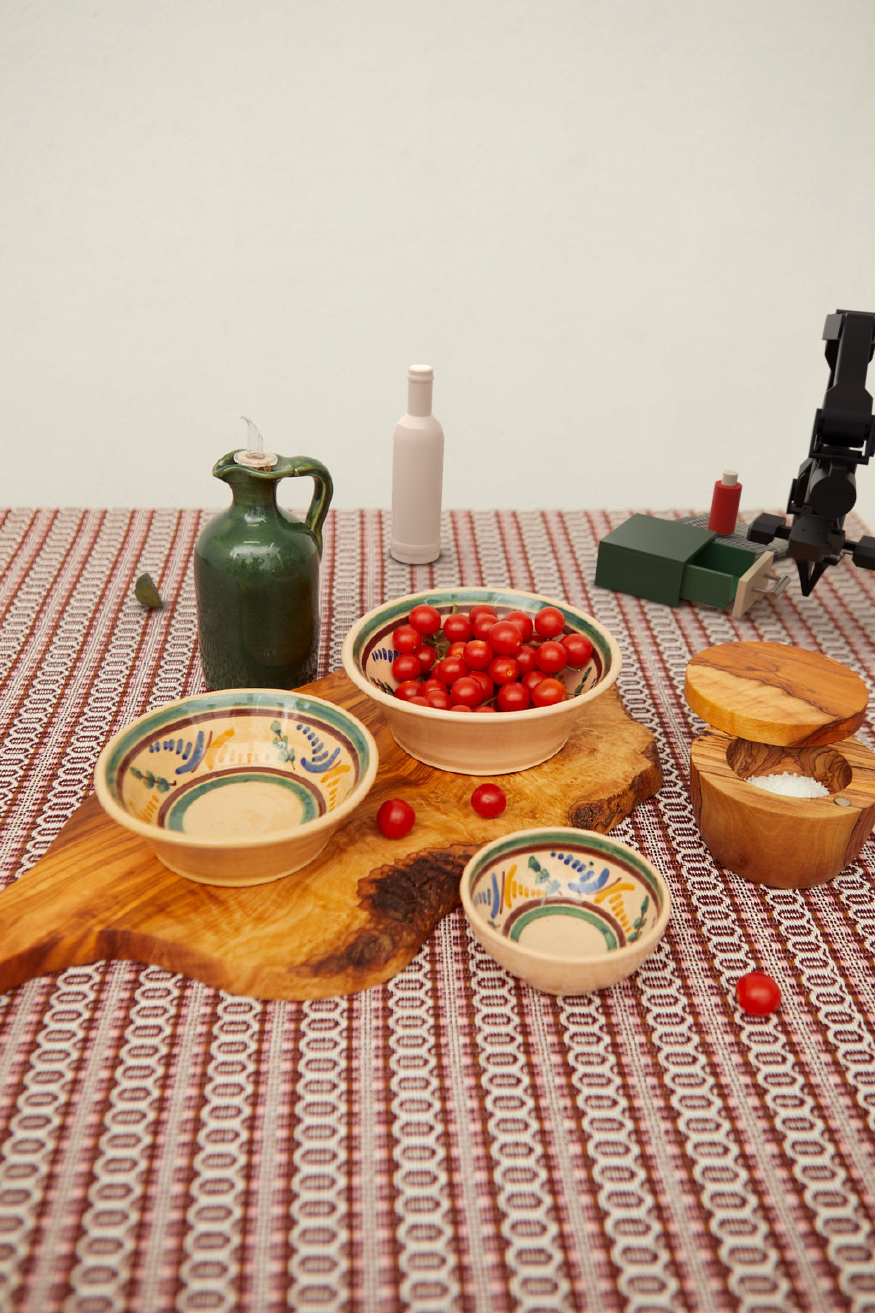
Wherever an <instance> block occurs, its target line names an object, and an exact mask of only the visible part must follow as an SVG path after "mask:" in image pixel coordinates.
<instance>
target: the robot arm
mask: <svg viewBox="0 0 875 1313" xmlns="http://www.w3.org/2000/svg"><path fill="white" fill-rule="evenodd" d="M821 335H822V336H821V341H825V343H824V353H823V354H824V358H825V360H826V363H827V365H828V368H829V375H828V379H827V384H826V389H825V393H824V396H823V400H822V404H821V408H820V407H816V410H815V414H814V417H813V423H812V429H811V435H810V439H809V440H810V441H809V446H808V447H809V448H808V453H807V458H806V459H805V460H804V461H803V462H802V463H801V464H800V465H799V468H798V472H797V477H796V478H794V477H793V478H792V481H791V485H790V489H789V491H788V492H789V493H788V498H787V503H786V509H785V510H786V512H785V514H786V515H793V516H792V520H791V525H790V526H789V525H787V517H786V516H781V515H776V514H771V513H768V512H762V513H760V514H759V515H757V517H755V518H754V519H753V520H752V521H751V522H750V523H749V528H748V532H747V538H746V539H747V540H748V541H750V542H754V543H759V544H763V545H768V544H770V543H771V542H773V541H774V538H775V537H776V538H780V539H781V540H785V541H788V542H789V543H788V548H787V550H786V551H785V553H786V555H785V556H789V557H791V558H792V559H793V561H794V563H795V565H796V568H797V572H798V578H799V584H800V590H801V596H802V597H805V598H809V597H810V595H811V593H812V592H813V590H814V589H815V587H816V585H817V584H818V583H819V581H820V579H821V578H822V576H823V575H824V572H825V571H827V569H828V567H830V566H831V567H837V566H838V565H839V564H840V563H841V561H842V560H843V559H844V558H845V556H846V555H849V556H852V557H851V562H852V563H853V565H854V566H855V567H856V568H860V569H864V570H868V571H872V572H875V537H874V536H869V535H865V534H864V535H862V537H861V538H860V539H859V541H856V540H855V541H854V540H851V539H846V537H847V536H846V530H845V529H844V526H845V521H846V517H847V514H849V513H850V512H851V511H852V510H853V508H854V507H855V506H856V503H857V499H858V494H857V480H856V472H857V469H858V465H861V466H869V464H870V458H874V457H875V414H873V406H874V397H873V396H872V394H871V393H870V392H869V391H868V389H867V388H866V384H867V378H868V369H869V364H870V363H871V362H872V361H873V359H874V356H875V312H874V311H863V310H852V309H842V308H836V309H835V312H834V313H828V314H826V316H825V320H824V325H823V331H822V334H821ZM864 446H865V447H864ZM851 448H852V449H851ZM863 448H864V451H863V450H860V449H863ZM858 449H859V450H858ZM863 452H864V454H863Z"/></svg>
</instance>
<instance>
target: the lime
mask: <svg viewBox="0 0 875 1313" xmlns="http://www.w3.org/2000/svg"><path fill="white" fill-rule="evenodd" d="M133 593H134V596H135V598H136V600H137V601H138V603H139V604H140V605H142V606H144V607H148V608H151V609H159V608H162V607H164V603H163V601H162V598H161V596H160V594H159V591H158V589H157V585H156V584H155V582H154V580H153V578H152V576H151V574H150V573H149V572H145V573H143V574H141V575H140V576H139V577H138V578H137V579H136V582H135V588H134V590H133Z"/></svg>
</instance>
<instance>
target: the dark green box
mask: <svg viewBox="0 0 875 1313" xmlns="http://www.w3.org/2000/svg"><path fill="white" fill-rule="evenodd" d="M669 520H670V519H664V518H660V517H656V516H651V515H648V514H643V513H640V512H636V513H634V514H633V515H632V516H630V517H629V518H628V519H626V520H625V521H624V522H622V523H621V524H619V525H618V526H617V527H615V528H614V529H612V530H611V531H610V532H609V533H608V534H606V535H604V537H602V538H600V539H599V540H598V549H597V557H596V566H595V567H596V568H595V573H594V574H595V575H594V583H593V585H594V586H596V587H601V588H603V589H606V590H607V589H608V590H610V591H615V592H618V593H622V594H626V595H629V596H632V597H636V598H640V599H643V600H647V601H651V602H655V603H658V604H662V605H665V606H668V607H671V608H675V609H677V608H678V607H679V606H680V605H681V604H682V603H683V602H685V601H686V599H682V598H680V593H681V587H682V580H683V574H684V568H685V564H686V563H687V562H688V561H690V560H691V559H692V558H693V557H694V556H695V555H696V554H697V553H698V552H699V551H701V550H702V549H703V548H704V547H705V546H706V545H707V544H708V543H709V542H710V541H711V540H714V541H716V536H717V532H715V531H711V530H707V529H703V528H698V527H694V526H690V525H686V524H682V523H677V522H673V521H669Z"/></svg>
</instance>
